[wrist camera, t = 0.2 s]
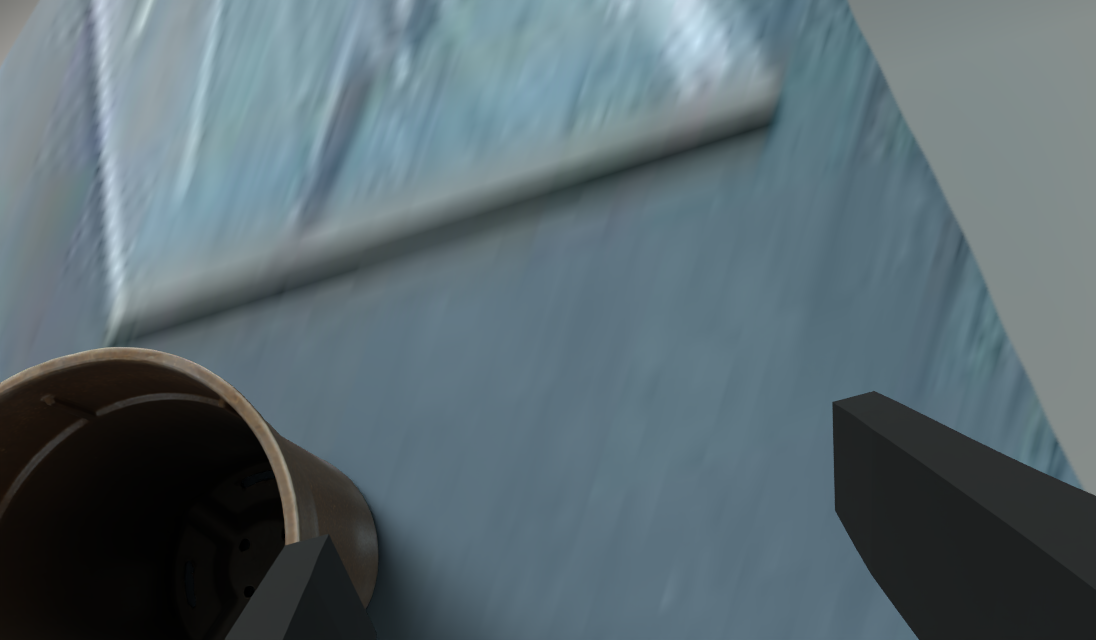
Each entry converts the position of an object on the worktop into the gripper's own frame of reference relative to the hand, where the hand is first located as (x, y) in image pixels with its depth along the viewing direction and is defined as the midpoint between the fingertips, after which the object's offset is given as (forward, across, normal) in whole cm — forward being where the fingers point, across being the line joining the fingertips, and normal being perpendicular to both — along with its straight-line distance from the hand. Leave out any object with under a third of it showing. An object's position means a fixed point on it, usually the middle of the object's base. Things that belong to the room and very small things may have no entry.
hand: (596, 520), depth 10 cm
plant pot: (+24, +17, +20) cm, 36 cm away
